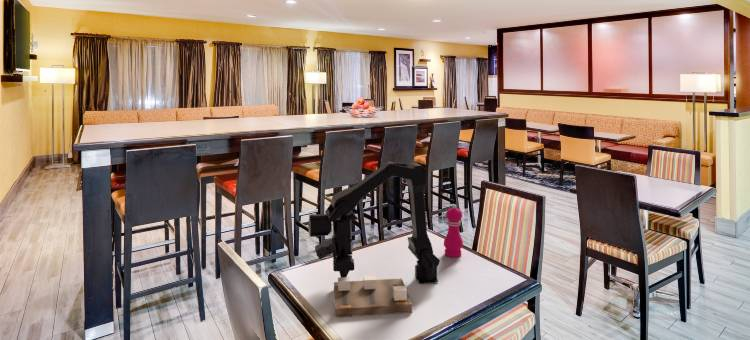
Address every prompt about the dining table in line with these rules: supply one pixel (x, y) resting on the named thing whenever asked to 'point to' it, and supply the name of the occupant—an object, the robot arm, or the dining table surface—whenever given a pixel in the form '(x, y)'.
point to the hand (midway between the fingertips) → (343, 280)
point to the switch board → (370, 299)
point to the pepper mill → (453, 233)
